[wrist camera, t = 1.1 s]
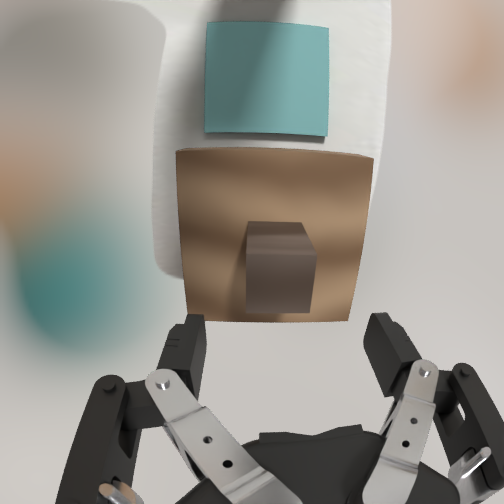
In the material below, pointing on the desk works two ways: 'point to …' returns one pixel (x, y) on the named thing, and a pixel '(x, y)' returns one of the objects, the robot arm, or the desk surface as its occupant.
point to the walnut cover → (271, 232)
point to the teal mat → (266, 78)
